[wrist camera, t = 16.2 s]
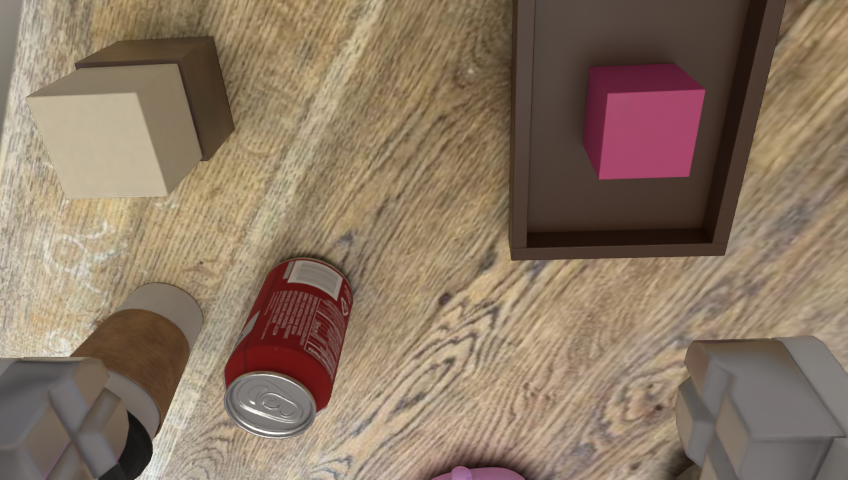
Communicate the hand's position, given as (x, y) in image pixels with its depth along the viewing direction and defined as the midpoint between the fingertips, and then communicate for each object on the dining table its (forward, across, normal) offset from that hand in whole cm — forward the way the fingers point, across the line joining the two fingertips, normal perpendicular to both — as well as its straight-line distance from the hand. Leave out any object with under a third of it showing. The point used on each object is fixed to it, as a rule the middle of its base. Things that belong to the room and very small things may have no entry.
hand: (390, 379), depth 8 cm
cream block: (+26, +16, +5) cm, 31 cm away
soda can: (+30, +11, +21) cm, 39 cm away
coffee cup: (+30, +23, +23) cm, 45 cm away
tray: (+30, -12, +8) cm, 33 cm away
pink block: (+30, -12, +8) cm, 33 cm away
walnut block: (+31, +16, +5) cm, 35 cm away
